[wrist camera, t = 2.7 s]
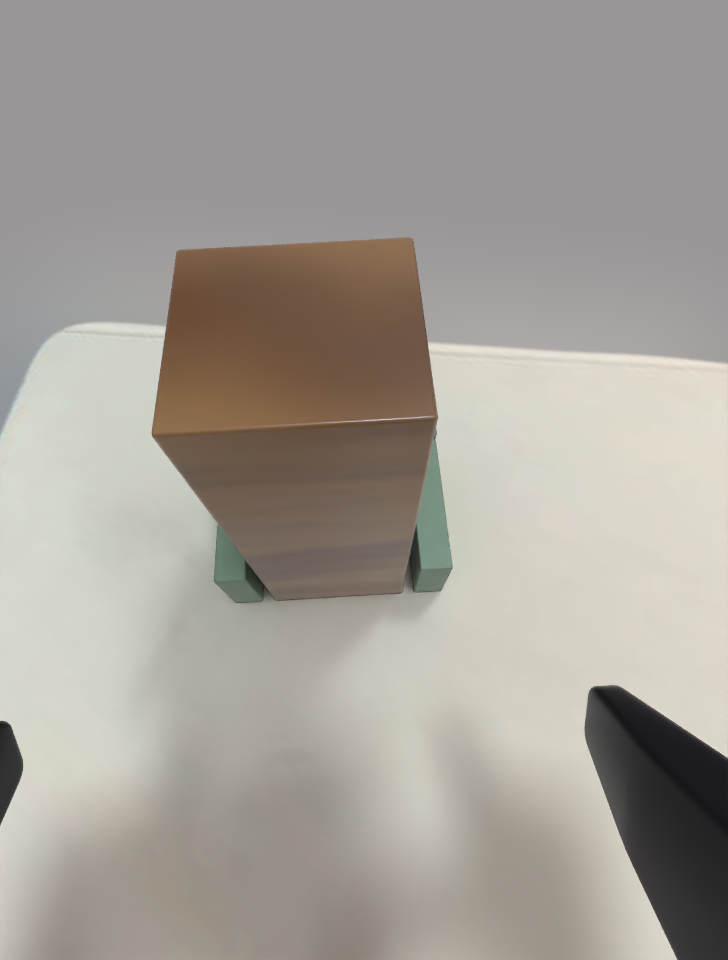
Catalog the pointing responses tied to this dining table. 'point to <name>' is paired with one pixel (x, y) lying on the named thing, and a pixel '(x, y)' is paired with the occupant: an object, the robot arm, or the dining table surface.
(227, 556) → the green u-shaped block
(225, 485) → the brown box
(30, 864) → the dining table surface
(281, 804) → the dining table surface
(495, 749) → the dining table surface
